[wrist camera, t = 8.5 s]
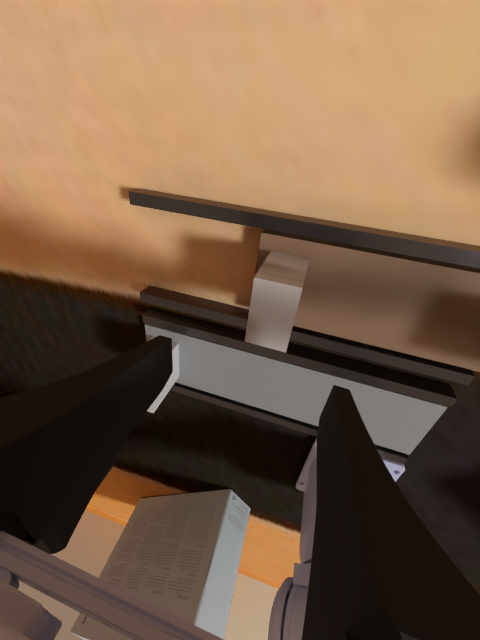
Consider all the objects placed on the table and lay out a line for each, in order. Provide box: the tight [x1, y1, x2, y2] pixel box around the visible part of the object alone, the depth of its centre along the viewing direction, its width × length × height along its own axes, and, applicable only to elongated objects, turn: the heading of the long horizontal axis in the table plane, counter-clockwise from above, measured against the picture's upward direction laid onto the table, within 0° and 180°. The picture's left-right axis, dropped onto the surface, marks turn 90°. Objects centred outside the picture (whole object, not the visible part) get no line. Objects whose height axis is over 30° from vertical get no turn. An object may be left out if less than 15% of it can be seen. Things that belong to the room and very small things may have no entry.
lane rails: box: [129, 189, 480, 464], centre depth 21 cm, size 18×24×1 cm
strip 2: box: [145, 324, 447, 455], centre depth 21 cm, size 6×24×6 cm, turn 84°
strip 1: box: [245, 229, 480, 372], centre depth 14 cm, size 6×24×6 cm, turn 84°
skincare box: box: [71, 489, 251, 640], centre depth 35 cm, size 21×6×16 cm, turn 126°
